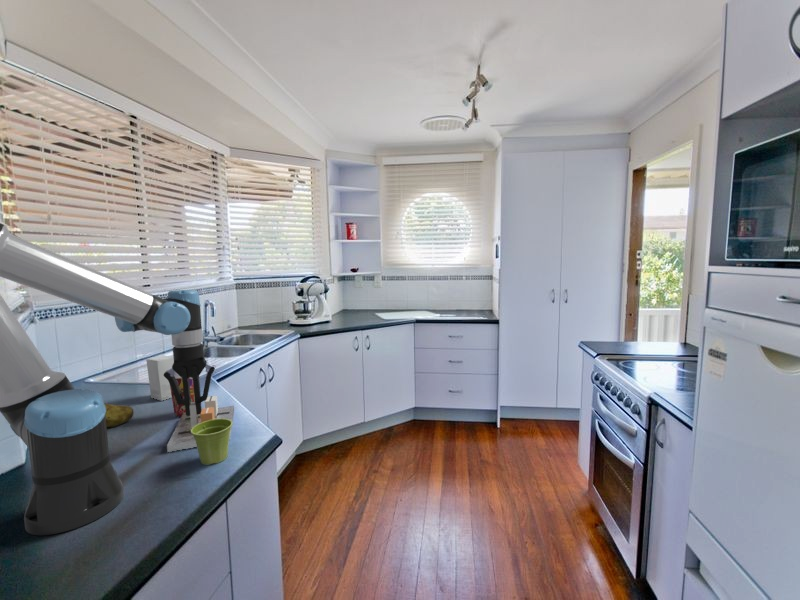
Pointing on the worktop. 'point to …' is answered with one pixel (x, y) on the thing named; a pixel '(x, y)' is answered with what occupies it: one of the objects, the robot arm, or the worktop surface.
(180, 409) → the smoothie
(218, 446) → the plant pot
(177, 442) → the console
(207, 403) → the fader far
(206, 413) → the fader near
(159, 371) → the skincare box
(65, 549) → the worktop surface
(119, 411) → the potato
